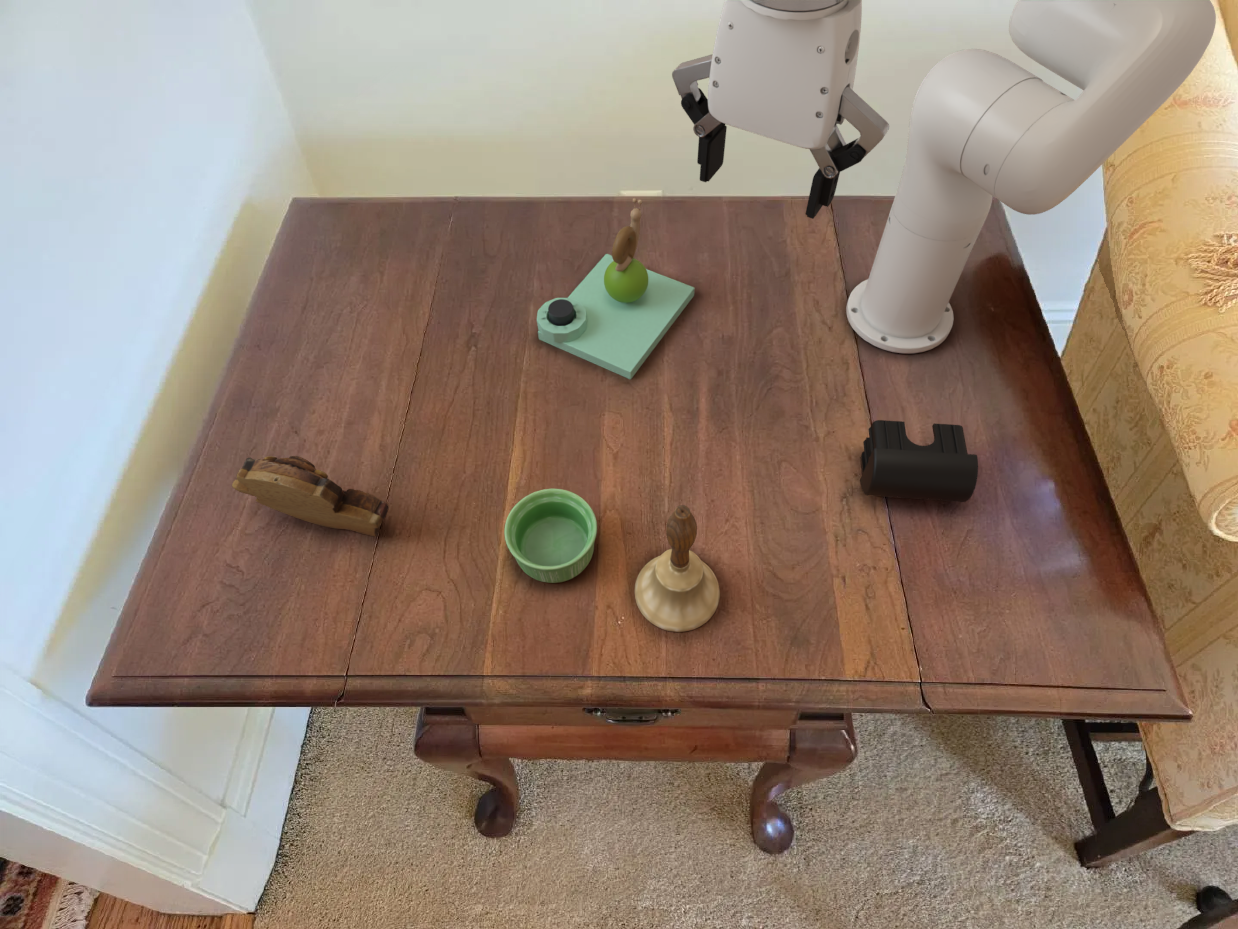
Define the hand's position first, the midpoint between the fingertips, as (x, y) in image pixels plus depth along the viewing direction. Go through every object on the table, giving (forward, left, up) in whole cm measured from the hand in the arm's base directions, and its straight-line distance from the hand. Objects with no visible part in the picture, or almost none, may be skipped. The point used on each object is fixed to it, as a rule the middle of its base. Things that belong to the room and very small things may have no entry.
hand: (762, 190), depth 65 cm
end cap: (+1, +21, -28) cm, 35 cm away
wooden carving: (+35, -30, -28) cm, 54 cm away
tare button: (0, -23, -26) cm, 34 cm away
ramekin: (+26, -7, -28) cm, 39 cm away
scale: (-5, -18, -28) cm, 34 cm away
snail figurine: (-8, -18, -27) cm, 34 cm away
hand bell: (+24, +6, -28) cm, 38 cm away
